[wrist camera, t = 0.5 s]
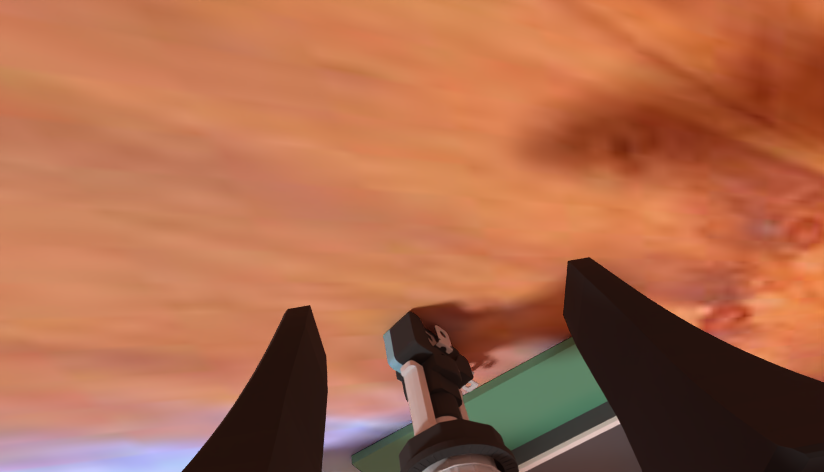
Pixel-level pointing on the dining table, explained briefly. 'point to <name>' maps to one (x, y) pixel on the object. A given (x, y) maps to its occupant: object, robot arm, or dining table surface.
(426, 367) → the push button
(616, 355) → the robot arm
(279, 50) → the dining table surface
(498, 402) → the circuit board
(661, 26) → the dining table surface
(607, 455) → the pad
